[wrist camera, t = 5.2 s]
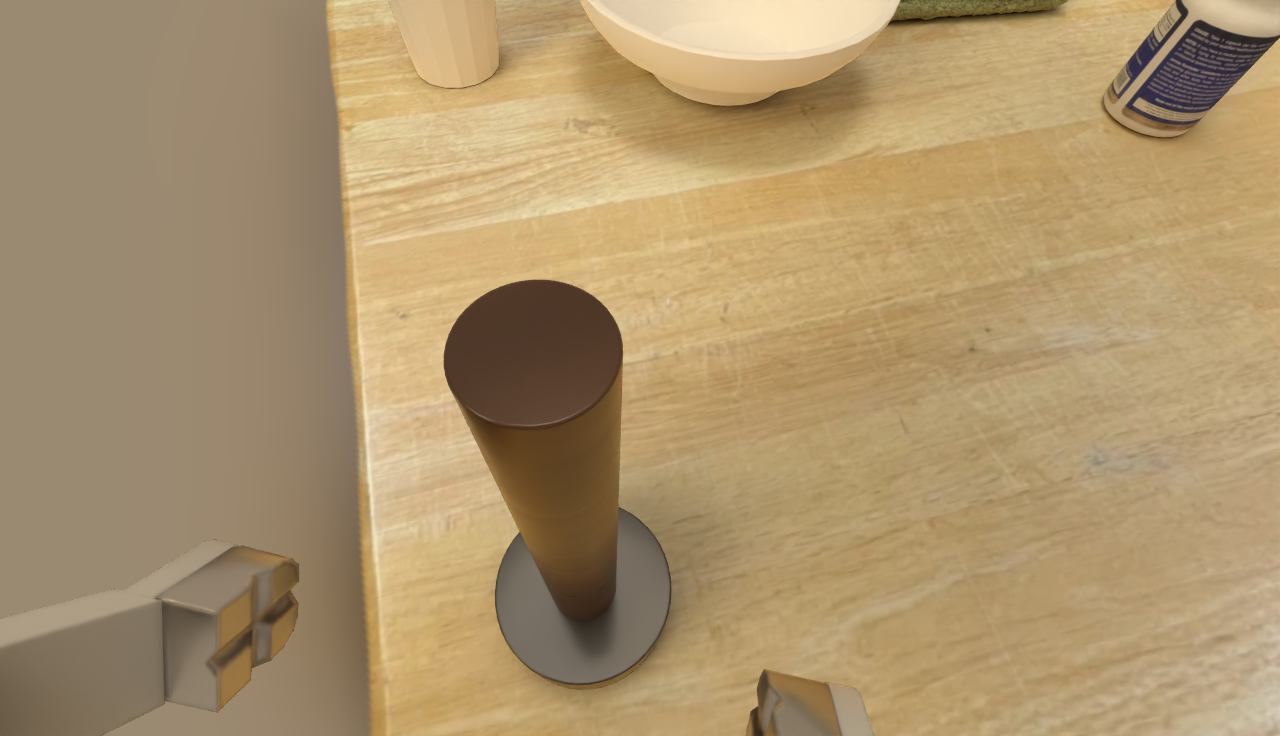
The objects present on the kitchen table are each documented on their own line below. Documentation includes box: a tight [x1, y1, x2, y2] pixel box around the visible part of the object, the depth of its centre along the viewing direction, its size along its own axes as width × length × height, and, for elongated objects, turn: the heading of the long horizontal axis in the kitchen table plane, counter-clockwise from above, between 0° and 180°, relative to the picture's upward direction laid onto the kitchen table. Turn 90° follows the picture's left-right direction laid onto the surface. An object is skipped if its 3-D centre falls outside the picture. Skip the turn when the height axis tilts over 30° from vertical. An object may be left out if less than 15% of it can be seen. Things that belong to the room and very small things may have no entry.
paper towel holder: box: [444, 280, 671, 690], centre depth 15 cm, size 6×6×18 cm
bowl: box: [580, 0, 900, 106], centre depth 38 cm, size 20×20×7 cm
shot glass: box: [388, 0, 499, 88], centre depth 37 cm, size 7×7×7 cm
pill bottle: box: [1104, 0, 1280, 137], centre depth 36 cm, size 6×6×10 cm
